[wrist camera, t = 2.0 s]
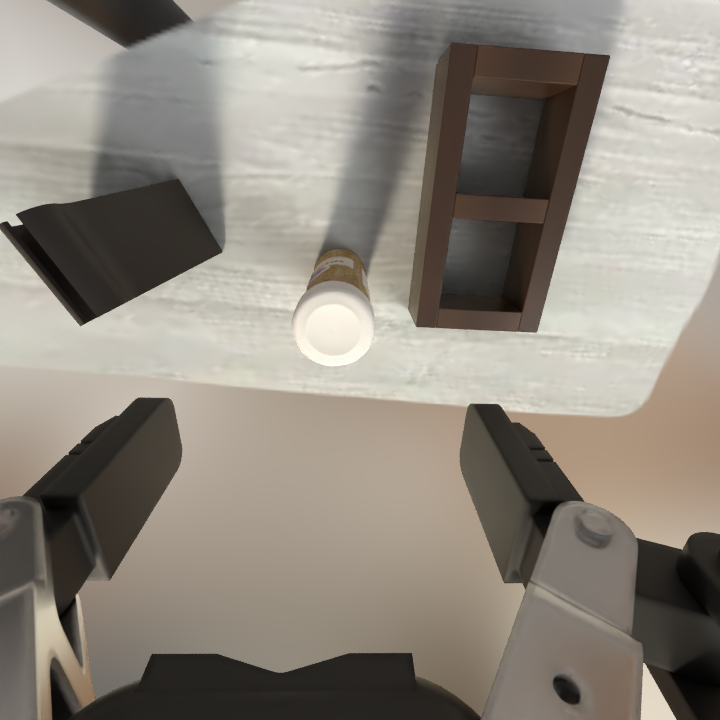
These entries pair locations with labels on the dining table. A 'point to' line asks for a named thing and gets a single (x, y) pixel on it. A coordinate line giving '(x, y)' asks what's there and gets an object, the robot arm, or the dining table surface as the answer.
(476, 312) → the holder
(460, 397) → the dining table surface
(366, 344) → the sprinkles bottle
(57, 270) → the phone stand
